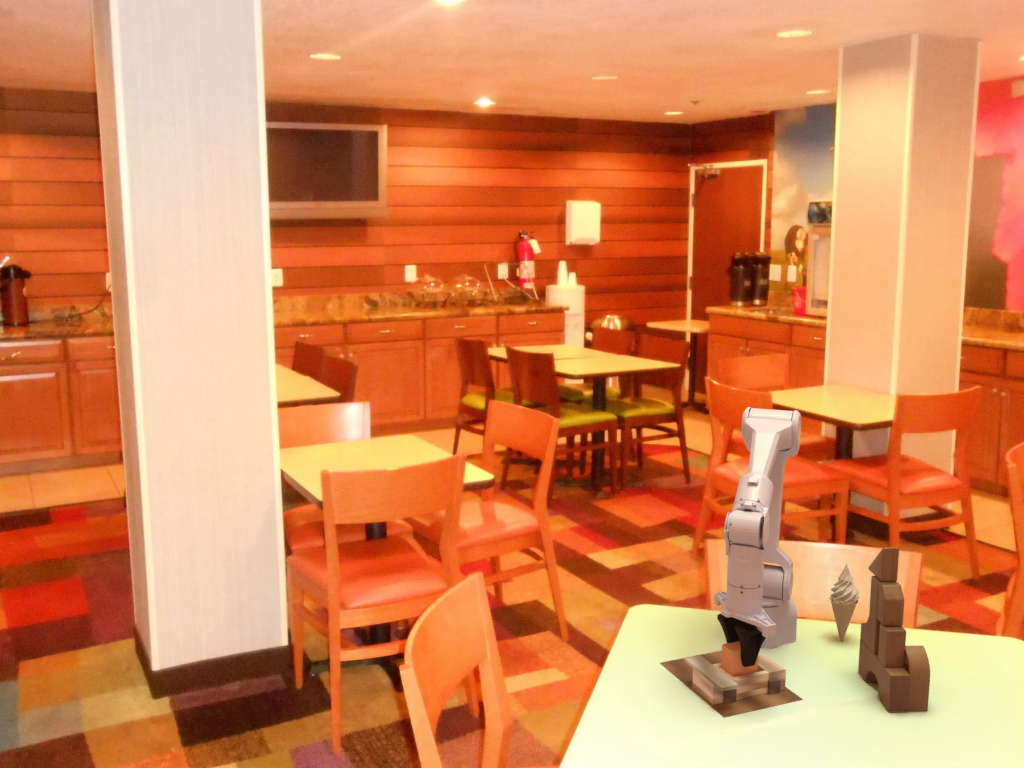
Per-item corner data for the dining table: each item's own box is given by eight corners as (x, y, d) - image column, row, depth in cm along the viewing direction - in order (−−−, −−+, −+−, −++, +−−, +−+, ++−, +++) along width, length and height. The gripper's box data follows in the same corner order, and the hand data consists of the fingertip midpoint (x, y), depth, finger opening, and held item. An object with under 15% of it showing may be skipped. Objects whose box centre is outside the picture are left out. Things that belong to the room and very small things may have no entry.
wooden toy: (930, 712, 152) (941, 563, 147) (888, 712, 152) (897, 563, 147) (892, 667, 167) (901, 530, 162) (854, 667, 167) (861, 531, 162)
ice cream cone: (859, 646, 175) (864, 568, 172) (832, 646, 175) (836, 568, 172) (850, 634, 180) (855, 558, 177) (823, 634, 180) (827, 558, 177)
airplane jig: (732, 653, 172) (733, 627, 172) (802, 705, 154) (804, 675, 153) (659, 668, 167) (660, 640, 166) (723, 723, 149) (724, 693, 148)
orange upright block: (746, 670, 160) (747, 639, 159) (757, 678, 157) (758, 646, 156) (721, 675, 158) (722, 644, 157) (731, 683, 155) (732, 652, 154)
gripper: (699, 570, 160) (697, 646, 162) (750, 602, 147) (747, 684, 149) (735, 565, 162) (732, 639, 165) (788, 595, 149) (785, 676, 151)
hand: (742, 660), depth 157 cm, fingers closed on orange upright block, 3 cm apart
